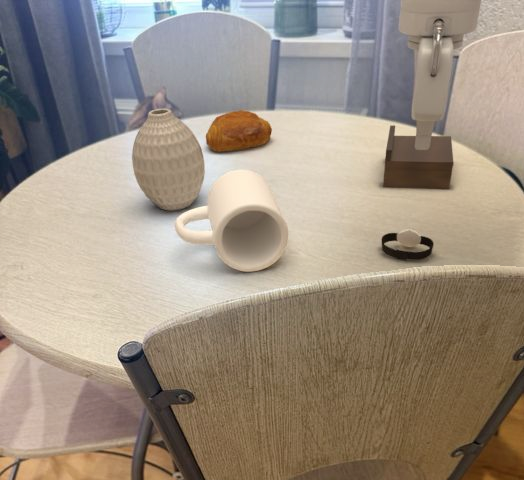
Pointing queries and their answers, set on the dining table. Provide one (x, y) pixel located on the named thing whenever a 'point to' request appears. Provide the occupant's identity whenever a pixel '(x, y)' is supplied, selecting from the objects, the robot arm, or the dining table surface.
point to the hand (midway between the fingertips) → (422, 135)
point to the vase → (168, 161)
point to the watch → (409, 240)
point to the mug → (239, 222)
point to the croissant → (237, 131)
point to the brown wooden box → (418, 162)
